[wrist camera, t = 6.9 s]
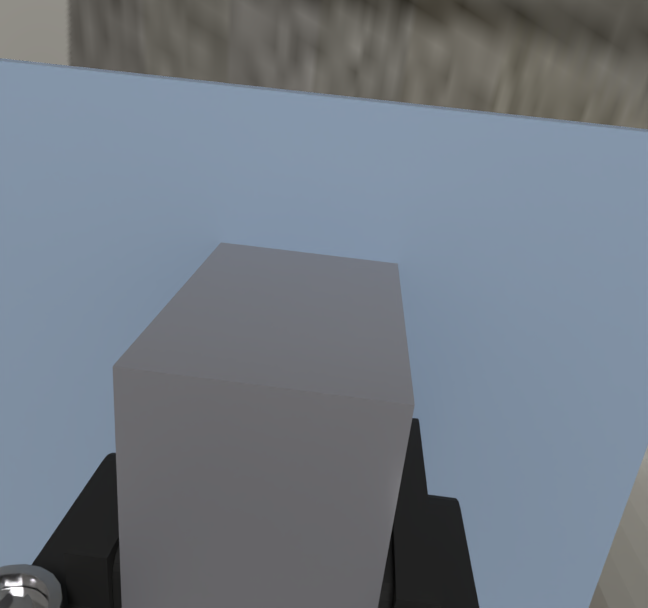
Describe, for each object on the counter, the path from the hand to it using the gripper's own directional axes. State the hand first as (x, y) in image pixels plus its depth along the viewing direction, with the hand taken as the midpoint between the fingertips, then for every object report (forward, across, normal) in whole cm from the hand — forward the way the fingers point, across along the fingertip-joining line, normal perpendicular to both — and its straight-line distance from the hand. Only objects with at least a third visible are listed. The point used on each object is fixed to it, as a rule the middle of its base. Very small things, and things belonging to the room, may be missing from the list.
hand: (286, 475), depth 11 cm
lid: (+3, 0, 0) cm, 3 cm away
